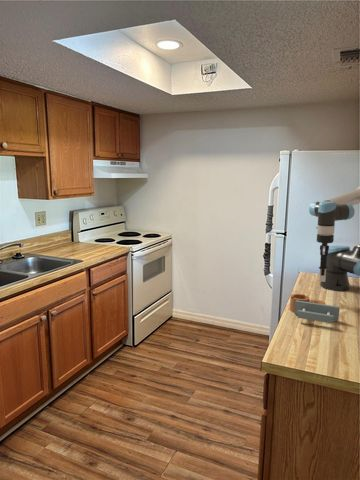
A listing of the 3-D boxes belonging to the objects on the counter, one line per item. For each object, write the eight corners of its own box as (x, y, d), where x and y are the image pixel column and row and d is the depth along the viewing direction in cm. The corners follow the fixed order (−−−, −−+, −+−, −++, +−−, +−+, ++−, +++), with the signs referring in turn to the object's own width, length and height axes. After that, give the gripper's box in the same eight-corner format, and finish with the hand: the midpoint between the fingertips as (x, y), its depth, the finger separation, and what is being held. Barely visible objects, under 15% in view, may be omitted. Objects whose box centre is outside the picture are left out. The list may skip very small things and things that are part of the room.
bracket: (297, 315, 162) (298, 300, 161) (286, 308, 170) (286, 294, 169) (329, 310, 169) (330, 296, 167) (316, 303, 176) (317, 290, 175)
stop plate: (295, 312, 163) (296, 300, 162) (338, 319, 156) (339, 306, 155) (292, 320, 155) (293, 307, 154) (337, 327, 148) (339, 314, 147)
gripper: (318, 231, 180) (315, 276, 185) (315, 236, 168) (313, 284, 173) (334, 232, 177) (331, 278, 181) (333, 237, 165) (329, 286, 170)
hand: (322, 281), depth 177 cm, fingers closed
